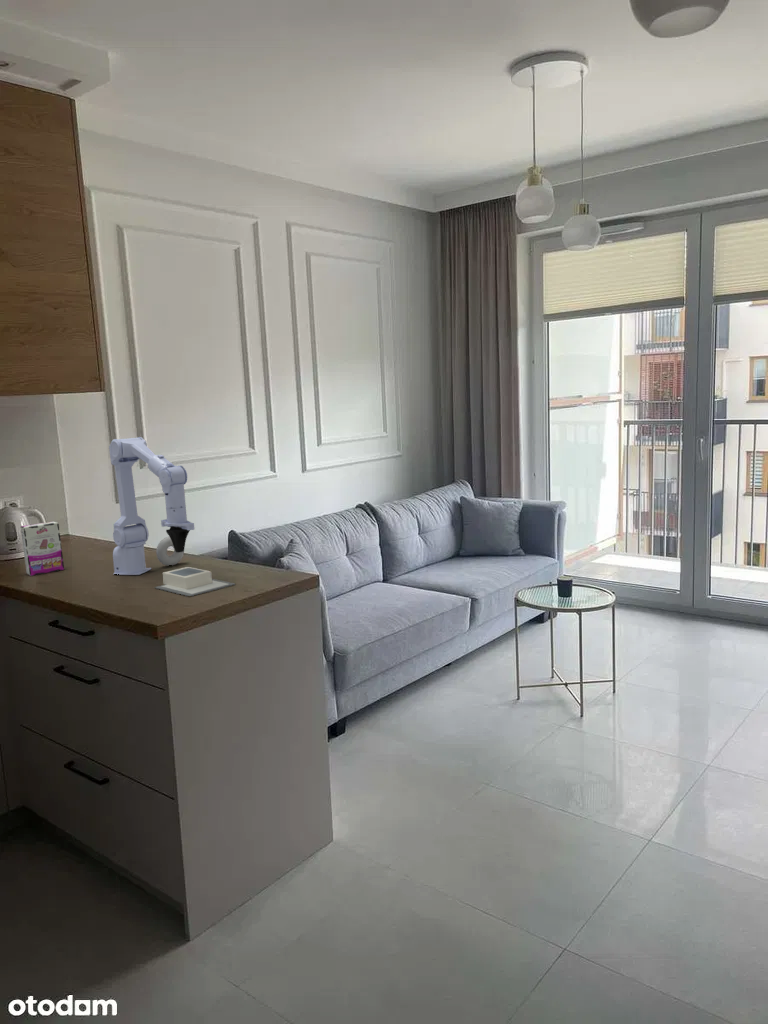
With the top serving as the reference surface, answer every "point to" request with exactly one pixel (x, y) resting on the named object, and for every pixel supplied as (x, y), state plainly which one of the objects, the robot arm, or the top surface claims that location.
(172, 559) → the donut
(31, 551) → the candy bar box
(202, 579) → the card box
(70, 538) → the top surface
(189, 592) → the mat
